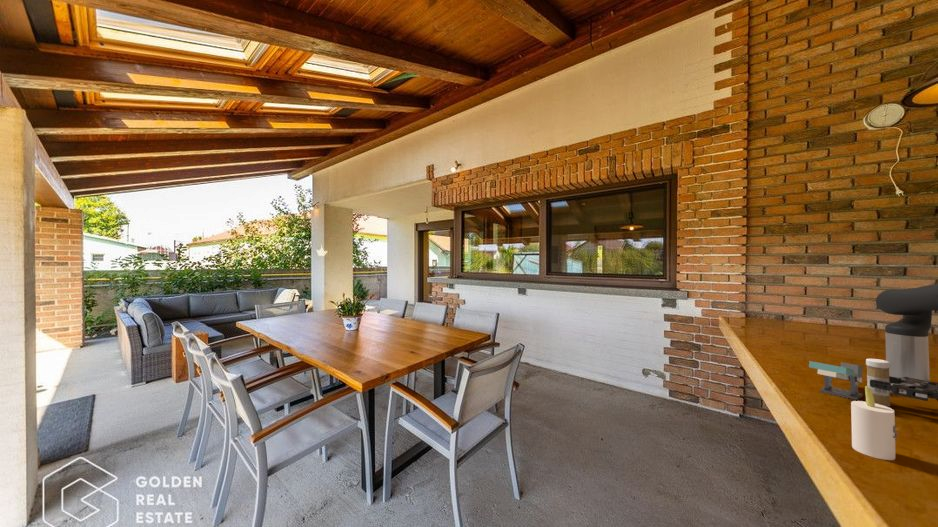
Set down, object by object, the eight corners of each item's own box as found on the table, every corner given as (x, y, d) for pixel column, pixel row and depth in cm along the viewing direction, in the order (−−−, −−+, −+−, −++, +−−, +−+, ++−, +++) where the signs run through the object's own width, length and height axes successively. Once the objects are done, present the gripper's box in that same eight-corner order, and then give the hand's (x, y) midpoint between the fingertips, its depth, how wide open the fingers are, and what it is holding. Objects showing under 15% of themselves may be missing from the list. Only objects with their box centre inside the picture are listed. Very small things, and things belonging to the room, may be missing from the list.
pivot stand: (826, 388, 112) (826, 366, 112) (862, 396, 105) (862, 373, 105) (820, 391, 109) (819, 369, 109) (856, 400, 102) (856, 376, 102)
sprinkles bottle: (891, 404, 99) (890, 360, 99) (889, 408, 96) (888, 363, 96) (867, 399, 103) (867, 357, 103) (865, 403, 100) (864, 359, 100)
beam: (836, 378, 116) (837, 361, 117) (870, 385, 109) (871, 368, 110) (808, 372, 104) (809, 354, 105) (845, 380, 97) (846, 361, 98)
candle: (892, 463, 71) (891, 394, 71) (847, 448, 76) (846, 385, 76) (900, 455, 73) (899, 389, 74) (856, 441, 79) (855, 380, 79)
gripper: (973, 380, 89) (880, 364, 104) (966, 390, 83) (867, 372, 97) (974, 407, 89) (880, 387, 104) (966, 419, 83) (867, 397, 97)
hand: (874, 380), depth 100 cm, fingers open, 8 cm apart
